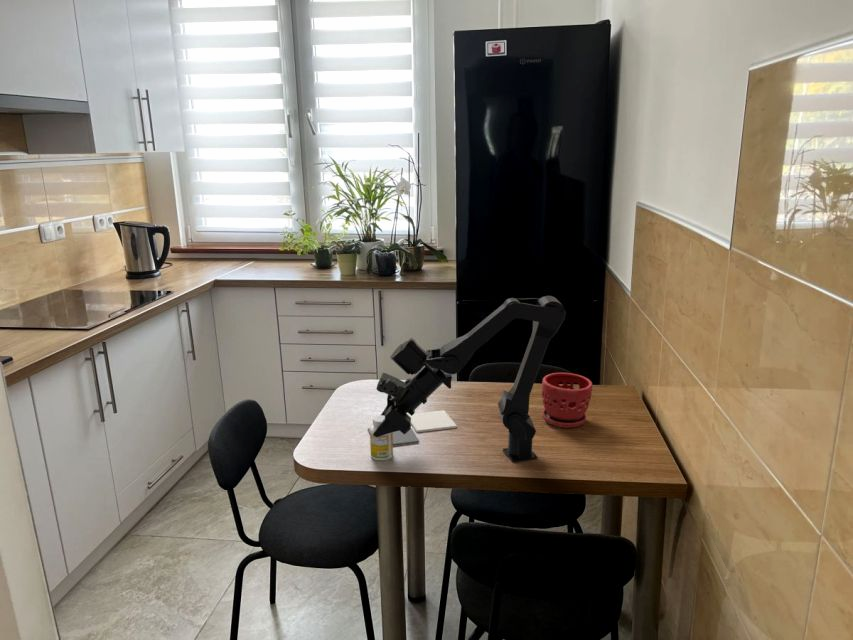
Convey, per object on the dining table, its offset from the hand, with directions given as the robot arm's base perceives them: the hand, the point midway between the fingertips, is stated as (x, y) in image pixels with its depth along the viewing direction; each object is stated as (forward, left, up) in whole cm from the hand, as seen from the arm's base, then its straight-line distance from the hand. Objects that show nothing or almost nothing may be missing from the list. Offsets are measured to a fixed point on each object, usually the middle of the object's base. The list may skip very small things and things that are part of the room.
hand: (375, 430), depth 153 cm
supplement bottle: (0, -1, -7) cm, 7 cm away
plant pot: (+6, -53, -7) cm, 54 cm away
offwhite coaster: (+16, -18, -7) cm, 25 cm away
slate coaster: (+10, -6, -7) cm, 13 cm away
